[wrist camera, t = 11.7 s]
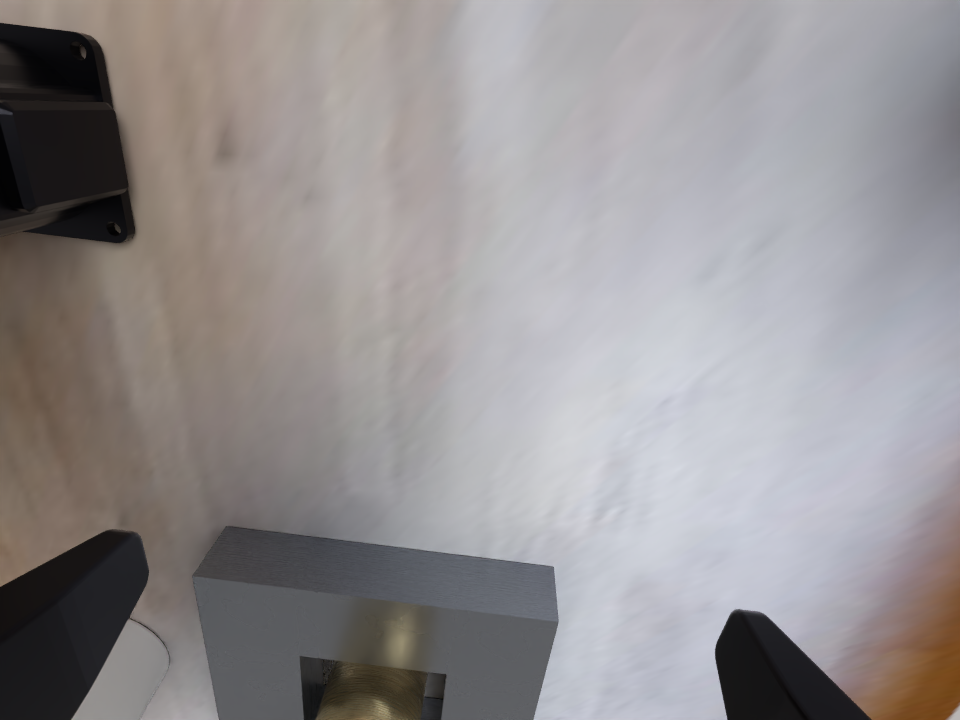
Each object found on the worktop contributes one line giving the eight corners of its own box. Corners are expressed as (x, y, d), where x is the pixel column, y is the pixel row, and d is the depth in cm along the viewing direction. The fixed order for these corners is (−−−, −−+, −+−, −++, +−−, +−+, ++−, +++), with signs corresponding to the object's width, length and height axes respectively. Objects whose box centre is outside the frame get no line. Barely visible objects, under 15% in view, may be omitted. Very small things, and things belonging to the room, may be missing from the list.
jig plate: (253, 720, 32) (229, 776, 30) (226, 526, 25) (192, 576, 23) (509, 753, 32) (509, 811, 30) (553, 567, 25) (558, 621, 23)
